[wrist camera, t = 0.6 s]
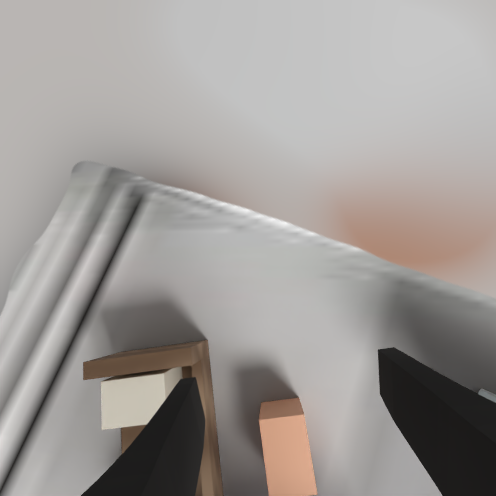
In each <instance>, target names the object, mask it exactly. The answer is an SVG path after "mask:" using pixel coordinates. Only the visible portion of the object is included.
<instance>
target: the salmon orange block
mask: <svg viewBox="0 0 496 496" xmlns="http://www.w3.org/2000/svg"><path fill="white" fill-rule="evenodd" d="M259 424H260V432H261V439H262V447H263V454H264V462H265V469H266V477H267V485H268V492H269V496H308V495H318V494H317V488H316V482H315V476H314V471H313V465H312V459H311V453H310V447H309V441H308V435H307V429H306V423H305V417H304V412H303V409H302V406H301V403H300V399H299V398H292V399H284V400H276V401H268V402H261V408H260V415H259Z"/></svg>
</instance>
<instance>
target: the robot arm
mask: <svg viewBox="0 0 496 496" xmlns="http://www.w3.org/2000/svg"><path fill="white" fill-rule="evenodd" d="M378 360H379V382H380V395H381V397H382V399H383V401H384V403H385V405H386V407H387V409H388V411H389V413H390V415H391V417H392V418H393V420H394V422H395V423H396V425H397V427H398V428H399V430H400V431H401V433H402V434H403V436H404V437H405V439H406V440H407V442H408V443H409V445H410V446H411V448H412V450H413V451H414V453H415V454H416V456H417V457H418V459H419V460H420V462H421V463H422V465H423V466H424V468H425V469H426V471H427V472H428V474H429V475H430V477H431V478H432V480H433V481H434V483H435V484H436V486H437V487H438V489H439V491H440V492H441V494H442V495H443V496H496V403H495V402H493V401H491V400H489V399H487V398H485V397H483V396H481V395H479V394H477V393H475V392H473V391H471V390H469V389H467V388H465V387H463V386H461V385H460V384H458V383H456V382H454V381H452V380H450V379H448V378H447V377H445V376H443V375H441V374H439V373H438V372H436V371H434V370H432V369H431V368H429V367H427V366H425V365H424V364H422V363H420V362H419V361H417V360H415V359H413V358H412V357H410V356H408V355H407V354H405V353H403V352H401V351H399V350H398V349H396V348H394V347H393V348H386V349H380V350H378ZM205 420H206V419H205V415H204V411H203V406H202V402H201V397H200V393H199V389H198V384H197V380H196V377H191V378H184V379H180V380H179V382H178V383H177V384H176V386H175V387H174V388H173V390H172V391H171V393H170V394H169V395H168V397H167V398H166V400H165V401H164V402H163V404H162V405H161V406H160V408H159V409H158V410H157V412H156V413H155V414H154V416H153V417H152V418H151V420H150V421H149V422H148V424H147V425H146V426H145V427H144V429H143V430H142V431H141V432H140V434H139V435H138V436H137V437H136V438H135V440H134V441H133V442H132V443H131V445H130V446H129V447H128V448H127V449H126V450H125V452H124V453H123V454H122V455H121V456H120V457H119V458H118V459H117V460H116V461H115V462H114V464H113V465H112V466H111V467H110V468H109V469H108V470H107V471H106V472H105V473H104V474H103V475H102V476H101V477H100V478H99V479H98V480H97V481H96V482H95V483H94V484H93V485H92V486H91V487H90V488H89V489H88V490H86V491H85V492H84V493H83V494H82V495H81V496H195V494H196V488H197V483H198V477H199V472H200V466H201V460H202V455H203V448H204V436H205Z"/></svg>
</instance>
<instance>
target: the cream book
mask: <svg viewBox="0 0 496 496" xmlns="http://www.w3.org/2000/svg"><path fill="white" fill-rule="evenodd" d="M180 379H183V378H182V367H176V368H169V369H162V370H154V371H147V372H139V373H132V374H125V375H117V376H114V377H111V378H109V379H107V380H104V381H102V382H101V420H102V430H106V429H114V428H122V427H130V426H138V425H146V424H148V422H149V421H150V420H151V418H152V417H153V416H154V414H155V413H156V412H157V410H158V409H159V408H160V406H161V405H162V404H163V402H164V401H165V400H166V398H167V397H168V395H169V394H170V393H171V391H172V390H173V388H174V387H175V386H176V384H177V383H178V382H179V380H180Z"/></svg>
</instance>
